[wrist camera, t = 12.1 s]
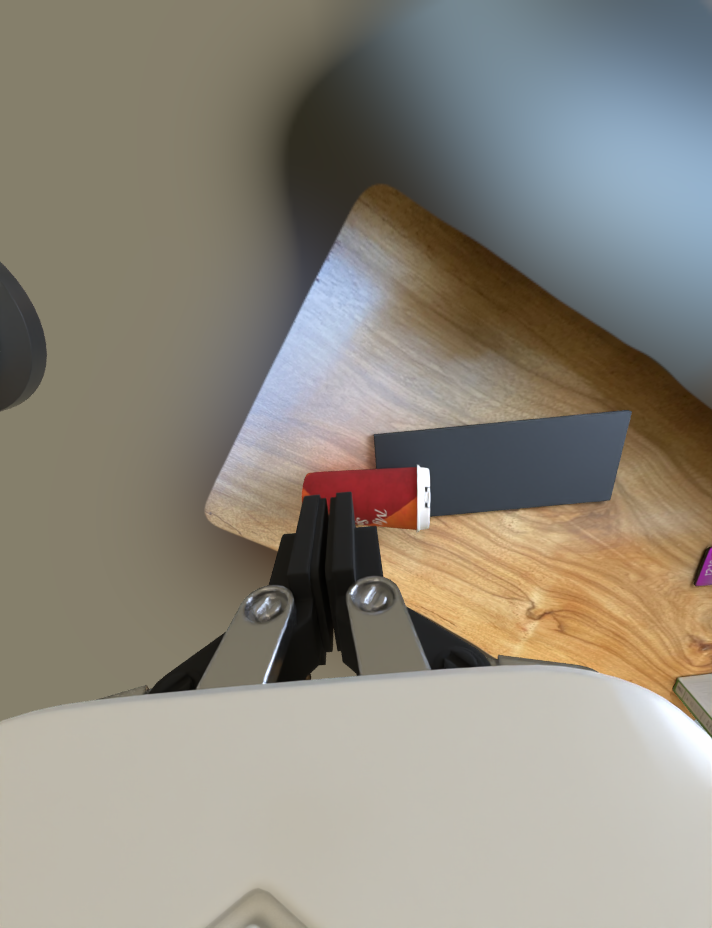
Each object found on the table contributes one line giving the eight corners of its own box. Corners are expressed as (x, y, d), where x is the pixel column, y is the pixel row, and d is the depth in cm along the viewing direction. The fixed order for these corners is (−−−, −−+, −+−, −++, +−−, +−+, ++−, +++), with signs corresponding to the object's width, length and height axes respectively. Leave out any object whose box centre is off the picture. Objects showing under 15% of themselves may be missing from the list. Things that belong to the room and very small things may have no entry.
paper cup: (297, 530, 38) (430, 535, 36) (300, 459, 39) (430, 459, 37) (316, 527, 45) (427, 531, 43) (318, 468, 46) (427, 468, 44)
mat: (380, 518, 47) (380, 521, 46) (373, 434, 42) (374, 435, 41) (607, 498, 46) (610, 500, 46) (628, 409, 41) (632, 411, 41)
